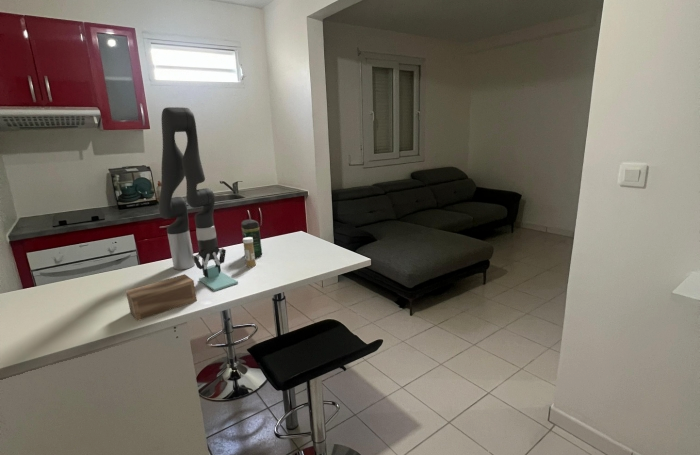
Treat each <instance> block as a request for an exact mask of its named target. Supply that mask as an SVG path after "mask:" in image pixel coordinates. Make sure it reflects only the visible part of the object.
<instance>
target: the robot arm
mask: <svg viewBox="0 0 700 455" xmlns="http://www.w3.org/2000/svg"><path fill="white" fill-rule="evenodd" d="M161 132H162V133H161V135H162V155H161V156H162V157H161V179H160V180H161V182H160V183H161V186H160V192H159V198H158V200H159V201H158V213H159V216H160V217H161V218H162V219H165V220H171V219H176V220H175V221H174V222H172V223H171V224H169V225H168V226H167V227H166V233H167V239H168V243H169V249H170V250H169V251H170V254H171V261H172V266H173V269H174V270H178V271H179V270H187V269H190V268H193V267H194V266H195V265H196V268H198V269H199V270H202V273H203V277H208V271H207V267H208V264H209V262H210V261H213V262H214V263H215V264H214V265H215V266H217V267H218V272H219V274H220V272H222V268H221V264H224V263H225V259H226V252H227V250H226V249H224V248H219V246H218V245H219V244H218V238H217V231H216V227H215V222H214V221H215V220H214V210H215V209H214V208H215V203H216V196H215V194H214V191H213V190H212V188H206V187H205V188H200V189H199V188H197V187H198V185H200V184H202V183H204V182H205V180H206V177H205V173H204V170H203V165H202V161H201V156H200V150H199V140H198V132H197V125H196V118H195V115H194V112H193V111H192V109H190V108H188V107H182V106H181V107H176V106H175V107H171V106H170V107H167V106H166V107H164V108H163V109H162V111H161ZM182 132H183V133H185V135H186V140H187V141H186V146H185V151H184V153H182V151H181V150H180V149H179V147H178V145H177V143H176V138H175V137H176V136H175V134H176V133H182ZM184 179H185V181H186V183H185V184H186V195H185V198H186V200H185V198H184V197H183V196H173V195H174V193H175V191H176V189H177V188H178V187H179V186H180V185H181V183H182V182H183V181H184ZM186 202H187V203H186ZM187 204H188V205H189V207H191V208H193V209H197V208H202V210H201V211H199V212H196V213H195V215H194V222H195V223H194V224H195V230H196V232H195V233H196V234H195V235H196V240H197V247H198V253H197V254H195V255H194V251H193V244H192V239H191V233H190V226H189V225H190V222H189V221H190V220H189V214H188V205H187ZM218 255H219V257H218ZM200 258H201V259H202V260H201V262H200Z"/></svg>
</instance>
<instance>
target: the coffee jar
mask: <svg viewBox="0 0 700 455" xmlns="http://www.w3.org/2000/svg"><path fill="white" fill-rule="evenodd" d="M240 225H241V226H240V227H241V232H242V239H243V238H246V237H252V238H253V247H254V254H255V259H256V258H259V257H262V255H263V249H262V242H261V232H260V224H259V222H258V221H257V220H255V219H252V218H250V219H244V220H242V221H241V224H240Z"/></svg>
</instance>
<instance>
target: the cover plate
mask: <svg viewBox="0 0 700 455" xmlns="http://www.w3.org/2000/svg"><path fill="white" fill-rule="evenodd" d="M215 265H216V264H212V265H209V266H208V265H207V271H208V277H205V276H203V277H202V276H201V277H198V281H200V282H201V283H203V284H204V285H205V286H206V287H208V288H210V289H211V290H212V291H214V292H216V291H219V290H222V289H226V288H228V287H231V286H234V285H237V284H239V282H238V280H236V279H235V278H234V277H231V276H229V275H228V274H226V273H225V272H223V271H221V272H220V274H219V272H218V267H217V266H215Z"/></svg>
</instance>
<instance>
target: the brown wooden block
mask: <svg viewBox="0 0 700 455" xmlns="http://www.w3.org/2000/svg"><path fill="white" fill-rule="evenodd" d="M195 288H196V287H195V282H194V279H193V278H191V277H189V276H188V275H186V273H185V274H181V275H176V276H173V277H170V278H166V279H164V280H160V281H156V282H153V283H149V284H145V285H142V286H138V287H136V288H131V289H128V290H125V293H126V298H127V303H128V307H129V308H128V309H129V312H130V314H131V315H132V316H133V318H134V319H135V320H136V321H137V322H138V321H141V320H144V319H147V318H150V317H153V316H156V315H159V314H163V313H165V312H168V311H171V310H173V309H177V308H179V307H183V306H185V305H188V304H190V303H194V302H197V301H198V299H197V293H196V289H195Z"/></svg>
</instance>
